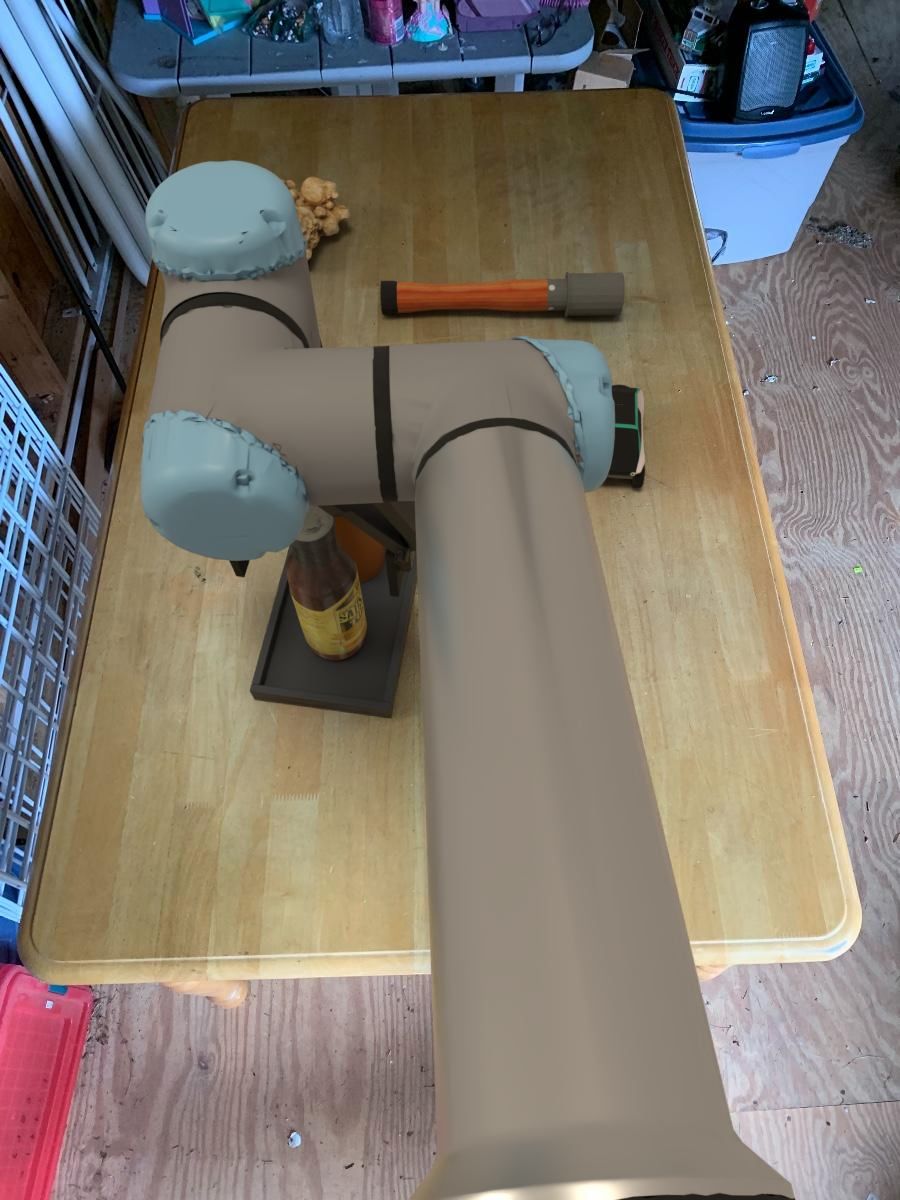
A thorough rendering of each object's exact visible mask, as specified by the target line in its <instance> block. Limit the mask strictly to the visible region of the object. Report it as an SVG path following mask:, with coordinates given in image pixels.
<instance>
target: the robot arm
mask: <svg viewBox="0 0 900 1200" xmlns="http://www.w3.org/2000/svg"><path fill="white" fill-rule="evenodd" d="M281 179H282V178H279V176H277V175H276V174H275V173H273V172H272V171H270V170H268V169H267V168H264V167H263V166H260V165H257V164H255V163H251V162H248V161H242V160H233V159H232V160H223V161H214V160H210V161H209V160H208V161H203V162H200V163H195V164H192V165H189V166H186V167H185V168H182V169H180V170H178V171H176V172H175V173H173V174H171V175H170V176H168V177H166V179H164V180H163V181H162V182H161V183H160V184H158V186H157V187H156V188H155V190H153V192H152V194H151V196H150V197H149V200H148V202H147V205H146V208H145V220H144V221H145V227H146V231H147V234H148V237H149V241H150V245H151V248H152V253H151V259H152V262H153V263H154V265H155V267H156V269H158V270H159V272H160V273H161V276H162V279H163V284H164V292H165V293H164V304H163V310H162V316H161V322H160V333H159V344H160V347H159V353H158V359H157V364H156V369H155V370H156V371H155V376H154V381H153V386H152V391H151V397H150V401H149V406H148V410H147V411H148V412H147V416H146V421H145V423H144V425H143V431H142V437H141V440H142V457H141V467H140V479H141V482H140V483H141V484H140V500H141V505H142V509H143V512H144V515H145V518H146V519H147V520H148V521H149V523H151V526H152V527H153V528H154V530H155V531H156V532H157V533H158V534H159V535H160V536H161V537H162V538H164V539H166V541H168V542H170V543H171V544H173V545H174V546H176V547H178V548H179V549H182V550H184V551H186V552H189V553H191V554H195V555H197V556H201V557H204V558H209V559H214V560H220V561H228V562H229V564H230V566H231V568H232V570H233V573H234V575H235V577H238V578H246V573H247V571H248V568H249V564H250V561H252V560H257V559H260V558H263V557H264V556H265V554H267V552H268V553H279V552H280V551H283V550H286V549H287V548H289V546H290V545H291V544H292V543H293V542H294V541H295V540H296V539H297V538H298V536H299V534H300V533H301V531H302V528H303V525H304V521H305V517H306V513H307V512H308V510H309V506H318V507H319V508H321V509H322V510H324V511H325V512H326V513H328V514H329V515H331V516H332V517H337V516H342V517H343V518H344V519H346V520H347V521H349V522H350V523H352V524H353V525H354V526H356V527H357V528H359V529H360V530H362V531H363V532H364V533H366V534H367V535H369V536H370V537H372V538H373V539H374V540H376V541H377V542H379V543H380V544H382V545H383V546H384V547H386V548H387V549H386V554H385V561H386V568H387V576H388V583H389V590H390V596H394V597H399V594H400V589H401V584H402V579H403V574H404V571H405V572H410V571H411V569H412V564H413V559H414V551H415V550H416V553H417V606H418V607H417V608H418V609H417V610H418V634H419V635H418V636H419V637H418V638H419V663H420V664H419V665H420V693H421V694H420V695H421V720H422V721H421V722H422V723H421V724H422V751H423V752H422V753H423V754H422V755H423V776H424V777H423V781H424V783H423V784H424V806H425V807H424V808H425V809H424V810H425V811H424V812H425V838H426V840H425V841H426V866H427V867H426V868H427V869H426V870H427V890H428V891H427V896H428V897H427V898H428V922H429V923H428V925H429V952H430V953H429V957H430V982H431V986H430V987H431V1009H432V1010H431V1012H432V1014H431V1015H432V1040H433V1041H432V1042H433V1068H434V1096H435V1099H434V1100H435V1124H436V1125H435V1126H436V1127H435V1129H436V1155H435V1157H434V1160H433V1163H432V1165H431V1167H430V1169H429V1171H428V1172H427V1173H426V1175H425V1176H424V1178H423V1179H422V1180H421V1182H420V1183H419V1184H418V1186H417V1187H416V1189H415V1190H414V1191H413V1192H412V1194H411V1196H410V1197H409V1199H408V1200H796V1196H795V1192H794V1189H793V1185H792V1183H791V1182H790V1181H789V1180H788V1179H786V1178H785V1177H784V1176H783V1175H782V1174H780V1173H779V1172H778V1171H777V1169H775V1168H773V1166H771V1165H770V1164H769V1163H768V1162H766V1161H765V1160H764V1159H763V1158H762V1157H761V1156H760V1155H758V1154H757V1153H756V1152H755V1151H754V1150H752V1149H751V1148H750V1147H749V1146H748V1145H746V1143H744V1142H743V1141H742V1139H741V1138H740V1136H739V1135H738V1133H737V1132H736V1130H735V1129H734V1125H733V1121H732V1117H731V1113H730V1108H729V1104H728V1100H727V1099H728V1098H727V1097H726V1091H725V1086H724V1083H723V1078H722V1074H721V1070H720V1065H719V1061H718V1057H717V1052H716V1048H715V1044H714V1040H713V1039H714V1038H713V1036H712V1031H711V1027H710V1022H709V1018H708V1014H707V1010H706V1005H705V1001H704V997H703V993H702V988H701V983H700V979H699V976H698V971H697V967H696V962H695V958H694V953H693V950H692V946H691V941H690V937H689V933H688V928H687V925H686V920H685V916H684V911H683V907H682V902H681V898H680V894H679V890H678V886H677V881H676V877H675V873H674V869H673V864H672V859H671V856H670V852H669V847H668V842H667V838H666V833H665V830H664V825H663V822H662V821H663V820H662V817H661V813H660V809H659V804H658V800H657V795H656V791H655V786H654V783H653V778H652V774H651V770H650V765H649V762H648V761H649V760H648V757H647V753H646V749H645V744H644V740H643V735H642V731H641V727H640V722H639V719H638V714H637V710H636V706H635V705H636V704H635V702H634V698H633V693H632V689H631V684H630V680H629V677H628V672H627V667H626V663H625V659H624V654H623V650H622V646H621V641H620V637H619V633H618V628H617V624H616V621H615V616H614V615H615V614H614V612H613V608H612V604H611V599H610V594H609V589H608V586H607V581H606V578H605V574H604V573H605V572H604V570H603V569H604V568H603V563H602V559H601V557H600V551H599V547H598V543H597V539H596V534H595V530H594V526H593V521H592V517H591V514H590V508H589V503H588V500H587V495H586V494H587V493H591V492H594V491H596V490H598V489H599V488H600V487H601V486H602V485H603V484H604V482H605V481H606V479H607V478H608V477H607V475H608V472H609V470H610V466H611V462H612V456H613V449H614V439H615V405H614V400H613V398H612V385H613V378H612V374H611V370H610V366H609V363H608V361H607V358H606V357H605V355H604V353H603V352H602V351H601V350H600V349H599V348H597V346H596V345H595V344H593V343H591V342H589V341H587V340H579V339H553V338H551V339H550V338H533V337H532V338H531V337H530V338H529V336H528V335H522V336H514V337H511V338H509V339H495V340H493V339H492V340H476V341H455V342H454V341H451V342H436V343H435V342H433V343H412V344H396V345H395V344H391V345H380V346H379V345H368V346H367V345H366V346H365V345H363V346H337V347H336V346H334V347H333V346H332V347H323V343H322V339H321V335H320V329H319V325H318V318H317V310H316V306H315V305H316V303H315V299H314V293H313V287H312V281H311V280H312V279H311V275H310V268H309V262H308V261H307V255H306V249H307V240H306V236H305V235H303V233H302V229H301V226H300V222H299V218H298V214H297V210H296V206H295V202H294V199H293V196H292V194H291V192H290V191H289V189H288V188H287V186H286V185H285V184H284V183H283V182H282V180H281Z"/></svg>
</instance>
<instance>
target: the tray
mask: <svg viewBox="0 0 900 1200" xmlns="http://www.w3.org/2000/svg"><path fill="white" fill-rule="evenodd" d="M292 549H293V548H292V545H290V546H288V550H287V553H286V557H285V561H284V563H283V568H282V571H281V576H280V578H279V582H278V586H277V590H276V592H275V597H274V601H273V604H272V607H271V612H270V614H269V618H268V622H267V625H266V629H265V633H264V637H263V640H262V644H261V647H260V651H259V655H258V658H257V663H256V666H255V670H254V673H253V676H252V681H251V684H250V687H249V693H250V695H251V696H252V697H253V699H254V700H255V701H263V702H268V703H269V702H270V703H277V704H284V705H291V706H299V707H305V708H313V709H319V710H326V711H327V710H328V711H335V712H343V713H349V714H357V715H363V716H370V717H379V718H385V719H392V715H393V711H394V706H395V700H396V694H397V688H398V683H399V678H400V672H401V667H402V662H403V657H404V651H405V645H406V641H407V635H408V630H409V624H410V621H411V620H410V619H411V615H412V609H413V604H414V598H415V593H416V589H417V584H418V582H417V553H416V550H415V551H414V559H413V564H412V569H411V571H410V572H405V571H404V574H403V579H402V584H401V589H400V594H399V597H394V596H390V590H389V583H388V576H387V568H386V561H385V563H384V566H383V568H382V569H381V571H380V572H379V573H378V574H377V575H376V576H375V577H374V578H372V579H371V580H369V581H366V582H363V583H360V588H361V594H362V599H363V605H364V611H365V616H366V622H367V628H366V637H365V639H364V643H363V644H362V646H361V647H360V648H359V650H358V651H357V652H356V653H355V654H354V655H352V656H350V657H348V658H346V659H343V660H327V659H324V658H322V657H320V656H318V655H317V654H315V653H314V651H313V650H312V649H311V647H310V645H309V644H308V643H307V641H306V639H305V636H304V633H303V630H302V627H301V624H300V621H299V618H298V614H297V611H296V608H295V605H294V602H293V599H292V596H291V592H290V588H289V582H288V579H287V575H286V563H287V560H288V558H289V556H290V554H291V552H292ZM386 549H387V548H386V547H385V554H386Z"/></svg>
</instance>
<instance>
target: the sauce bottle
mask: <svg viewBox="0 0 900 1200" xmlns="http://www.w3.org/2000/svg"><path fill="white" fill-rule="evenodd" d="M335 532H336V524H335V521H334V517H332V516H331V515H329V514H328V513H326V512H325V511H324V510H322V509H321V508H319V507H318V506H309V510H308V512H307V513H306V517H305V521H304V525H303V528H302V531H301V533H300V534H299V536H298V538H297V539H296V540H295V541H294V542H293V543H292V544H291V545H292V548H293V549H292V552H291V554H290V556H289V558H288V560H287V563H286V575H287V579H288V582H289V588H290V592H291V596H292V599H293V602H294V605H295V608H296V611H297V614H298V618H299V621H300V624H301V627H302V630H303V633H304V636H305V639H306V641H307V643H308V644H309V645H310V647H311V649H312V650H313V651H314V653H315V654H317V655H318V656H320V657H322V658H324V659H327V660H343V659H346V658H348V657H350V656H352V655H354V654H355V653H356V652H357V651H358V650H359V648H360V647H361V646H362V644H363V643H364V639H365V637H366V628H367V622H366V616H365V611H364V605H363V599H362V594H361V588H360V583H359V577H358V571H357V566H356V563H355V561H354V560H353V558H352V557H351V556H350V555H349V554H348V553H347V552H345V551H344V549H343V548H342V547H341V546H340V545H339V544H338V541H337V539H336V536H335Z"/></svg>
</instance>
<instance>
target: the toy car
mask: <svg viewBox="0 0 900 1200" xmlns="http://www.w3.org/2000/svg"><path fill="white" fill-rule="evenodd" d="M612 398H613V400H614V405H615V439H614V449H613V456H612V462H611V466H610V470H609V472H608V475H607V477H606V478H611V479H627V480H631V487H632V488H634V489H641V488H642V487H643V485H644V482H645V476H646V465H645V463H646V454H645V448H644V447H645V445H644V413H645V398H644V393H643V390H642V389H641V388H639V387H637V386H636V387H630V386H627V385H625V384H612Z"/></svg>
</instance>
